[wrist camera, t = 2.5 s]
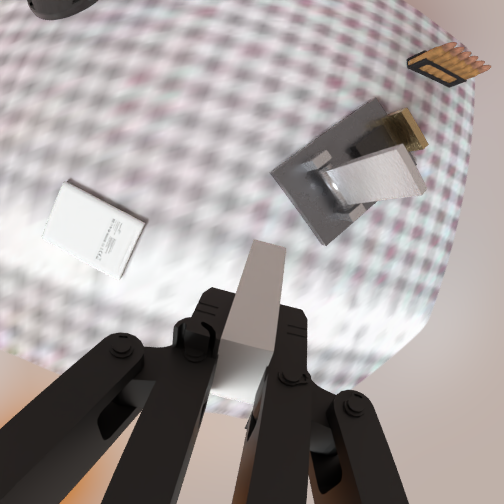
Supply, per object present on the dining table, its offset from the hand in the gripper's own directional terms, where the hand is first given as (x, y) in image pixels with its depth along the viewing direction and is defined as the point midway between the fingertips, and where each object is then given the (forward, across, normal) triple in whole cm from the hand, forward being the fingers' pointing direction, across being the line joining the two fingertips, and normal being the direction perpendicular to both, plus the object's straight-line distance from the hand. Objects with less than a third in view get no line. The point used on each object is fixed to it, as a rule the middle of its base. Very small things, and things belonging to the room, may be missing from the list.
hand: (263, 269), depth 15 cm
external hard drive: (+19, -22, -12) cm, 31 cm away
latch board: (+32, +9, +1) cm, 33 cm away
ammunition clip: (+44, +21, +21) cm, 53 cm away
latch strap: (+26, +7, -1) cm, 27 cm away
